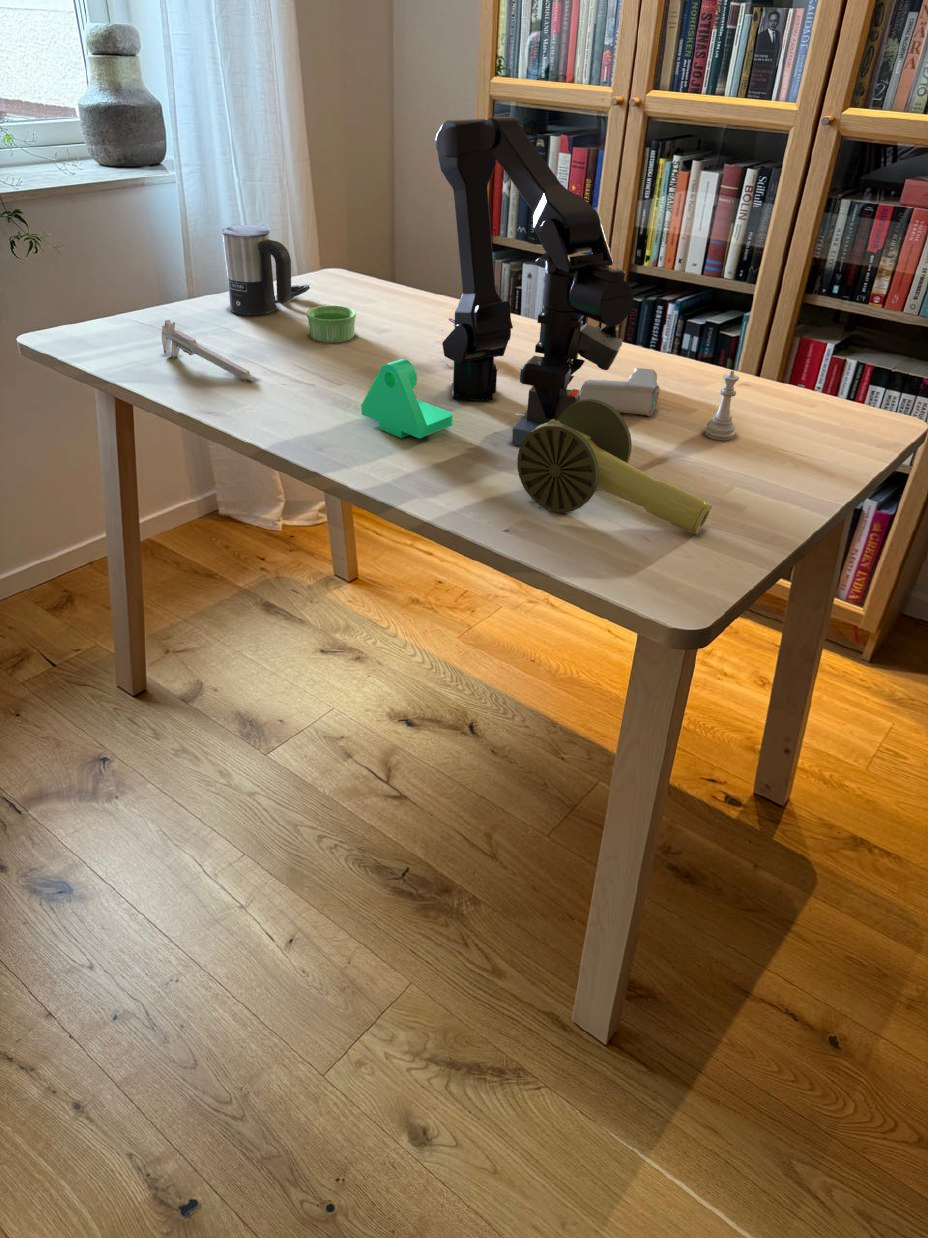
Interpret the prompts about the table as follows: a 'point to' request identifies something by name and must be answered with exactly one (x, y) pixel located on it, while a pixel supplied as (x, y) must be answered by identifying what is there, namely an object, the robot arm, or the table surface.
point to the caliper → (197, 350)
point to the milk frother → (256, 270)
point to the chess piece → (723, 412)
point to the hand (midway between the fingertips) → (552, 414)
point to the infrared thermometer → (626, 392)
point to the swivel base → (523, 429)
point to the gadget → (565, 401)
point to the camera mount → (402, 403)
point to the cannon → (597, 467)
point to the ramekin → (331, 323)
